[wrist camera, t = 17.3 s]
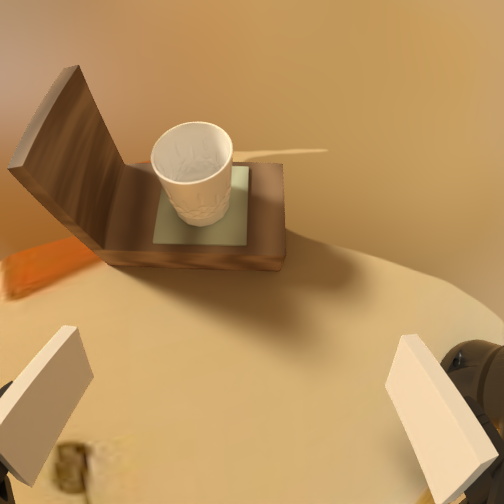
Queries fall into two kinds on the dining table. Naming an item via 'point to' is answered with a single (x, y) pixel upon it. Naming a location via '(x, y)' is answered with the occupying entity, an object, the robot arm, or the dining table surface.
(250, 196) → the walnut shelf
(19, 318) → the dining table surface
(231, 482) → the dining table surface
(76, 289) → the dining table surface
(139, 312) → the dining table surface
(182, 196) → the white cup
